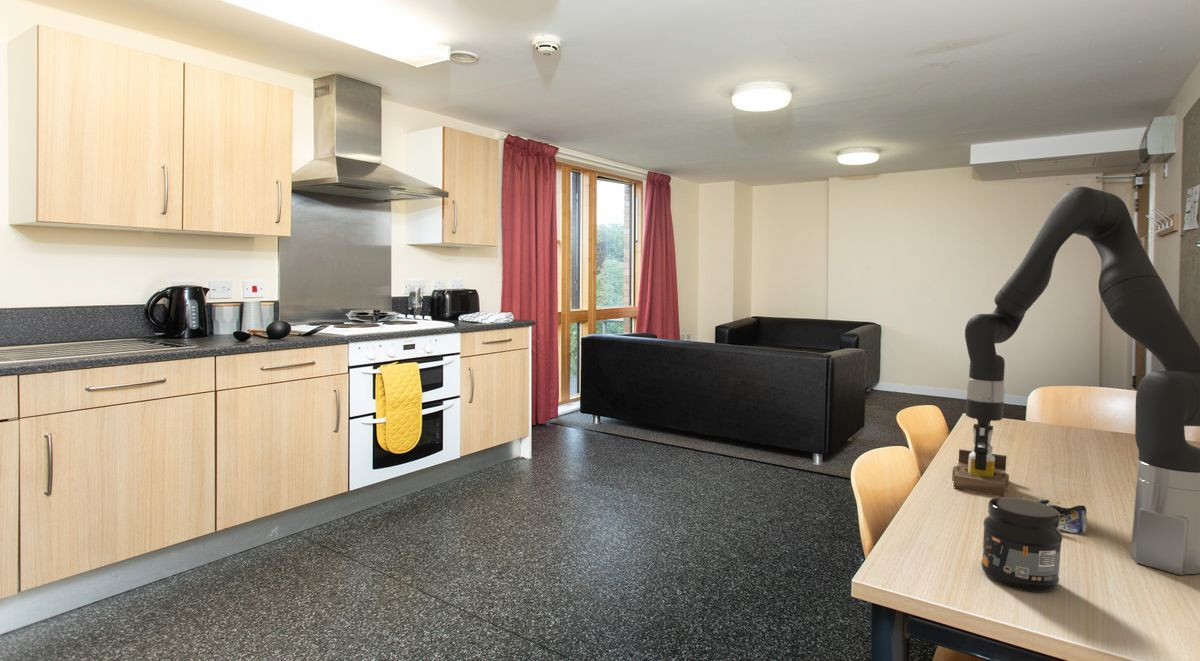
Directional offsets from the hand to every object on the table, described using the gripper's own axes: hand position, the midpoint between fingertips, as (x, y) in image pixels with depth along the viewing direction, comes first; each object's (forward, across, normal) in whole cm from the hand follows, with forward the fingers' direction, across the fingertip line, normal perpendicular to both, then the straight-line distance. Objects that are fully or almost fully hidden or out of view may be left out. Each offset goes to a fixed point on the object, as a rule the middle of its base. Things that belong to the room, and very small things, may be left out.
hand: (980, 465), depth 150 cm
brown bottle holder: (+5, 0, 0) cm, 5 cm away
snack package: (+5, -21, -12) cm, 25 cm away
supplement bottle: (+5, 0, 0) cm, 5 cm away
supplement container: (+5, -53, -7) cm, 54 cm away
